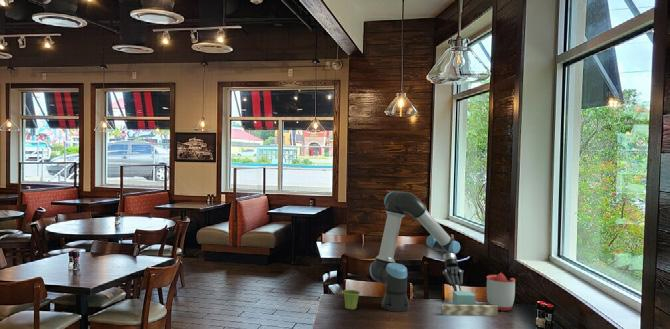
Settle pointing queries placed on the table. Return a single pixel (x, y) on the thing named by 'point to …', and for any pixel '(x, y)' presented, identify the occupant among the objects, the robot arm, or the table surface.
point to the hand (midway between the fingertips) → (458, 296)
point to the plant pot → (351, 298)
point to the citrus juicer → (500, 291)
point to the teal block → (463, 298)
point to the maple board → (470, 310)
